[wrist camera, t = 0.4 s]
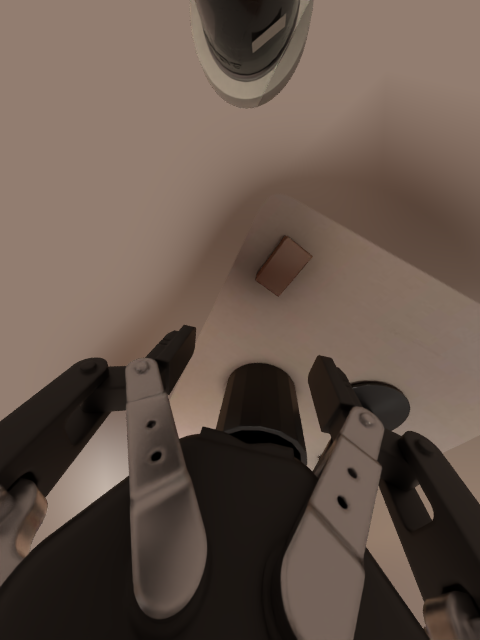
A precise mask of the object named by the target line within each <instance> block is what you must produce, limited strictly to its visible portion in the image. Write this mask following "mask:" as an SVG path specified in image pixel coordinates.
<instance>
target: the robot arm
mask: <svg viewBox="0 0 480 640" xmlns="http://www.w3.org/2000/svg"><path fill="white" fill-rule="evenodd" d="M194 1H195V4H196V7H197V10H198V13H199V16H200V20H201V23H202V28H203V32H204V36H205V39H206V42H207V45H208V48H209V51H210V53H211V55H212V57H213V59H214V61H215V62H216V64H217V65H218V67H219V68H220V69H221V70H222V71H223V72H224V73H225V74H226V75H227V76H229V77H230V78H232V79H234V80H237V81H241V82H250V81H255V80H258V79H260V78H262V77H263V76H265V75H266V74H268V73H269V72H270V71H271V70H272V69H273V68H274V67H275V66H276V65H277V64H278V63H279V61H280V60H281V58H282V57H283V55H284V54H285V52H286V50H287V48H288V46H289V44H290V41H291V39H292V36H293V33H294V30H295V27H296V23H297V18H298V12H299V6H300V0H194ZM195 338H196V328H195V327H191V326H187V325H183V327H182V328H181V329H180V330H179V331H172V332H170V333H168V334H167V335H166V336H165V337H164V338H163V340H161V341H160V342H159V344H157V345H156V347H155V348H154V349H153V350H152V351H151V352H150V353H149V354H148V355H147V356H146V357H145V358H140V359H136V360H134V361H132V362H130V363H129V364H128V365H127V366H117V367H116V366H114V367H108V364H107V361H106V360H104V359H102V358H88V359H84V360H82V361H79V362H77V363H76V364H74V365H73V366H71V367H70V368H69V369H68V370H67V371H65V372H64V373H62V374H61V375H60V376H59V377H57V378H56V379H55V380H53V381H52V382H51V383H50V384H48V385H47V386H46V387H44V388H43V389H42V390H40V391H39V392H38V393H36V394H35V395H34V396H33V397H32V398H30V399H29V400H28V401H26V402H25V403H24V404H22V405H21V406H20V407H18V408H17V409H16V410H14V411H13V412H12V413H11V414H9V415H8V416H7V417H6V418H4V419H3V420H1V421H0V640H480V504H479V503H478V501H477V500H476V499H475V497H474V496H473V495H472V493H471V492H470V491H469V489H468V488H467V486H466V485H465V484H464V482H463V481H462V480H461V478H460V477H459V476H458V474H457V473H456V472H455V470H454V469H453V467H452V466H451V465H450V463H449V462H448V461H447V459H446V458H445V457H444V456H443V454H442V452H441V451H440V450H439V449H438V448H437V447H436V446H435V445H434V444H433V443H432V442H431V441H430V440H428V439H427V438H426V437H424V436H422V435H420V434H418V433H416V432H413V431H407V432H405V433H404V434H403V435H402V436H400V435H398V434H396V433H394V432H392V431H390V430H388V429H386V428H384V427H383V424H382V422H381V421H380V420H379V419H378V417H377V416H375V415H374V414H373V413H372V412H370V411H369V410H367V409H365V408H363V406H362V405H361V403H360V401H359V399H358V397H357V395H356V393H355V392H354V390H353V388H352V386H351V384H350V383H349V380H348V379H347V377H346V375H345V374H344V373H343V372H342V371H341V370H340V369H339V368H338V367H336V365H335V363H334V361H333V359H332V358H329V357H325V356H320V355H319V356H317V358H316V360H315V362H314V364H313V366H312V368H311V370H310V372H309V375H308V384H309V387H310V391H311V395H312V398H313V402H314V406H315V410H316V413H317V417H318V421H319V424H320V428H321V432H324V433H329V434H330V435H331V439H330V440H329V442H328V444H327V446H326V448H325V450H324V451H323V453H322V455H321V457H320V459H319V461H318V463H317V465H316V466H315V468H314V470H313V471H311V470H310V469H309V468H308V467H307V466H306V465H305V464H304V463H302V462H301V461H300V460H298V459H297V458H295V457H294V451H293V448H290V447H286V446H281V445H277V444H273V443H257V444H247V443H244V442H243V441H241V440H239V439H237V438H235V437H233V436H231V435H230V434H228V433H226V432H223V431H219V430H215V429H211V428H207V427H202V430H201V433H200V434H194V435H189V436H186V437H183V438H181V439H179V437H178V433H177V430H176V426H175V422H174V418H173V414H172V410H171V407H170V403H169V399H168V395H169V394H170V393H171V391H172V390H173V388H174V386H175V384H176V383H177V381H178V379H179V378H180V376H181V374H182V372H183V371H184V369H185V367H186V365H187V364H188V362H189V360H190V359H191V357H192V355H193V352H194V349H195ZM123 410H126V418H127V440H128V461H129V476H128V477H126V478H125V479H124V480H122V481H121V482H120V483H118V484H117V485H116V486H114V487H113V488H112V489H110V490H109V491H108V492H106V493H105V494H104V495H102V496H101V497H100V498H99V499H97V500H96V501H94V502H93V503H92V504H91V505H89V506H88V507H87V508H85V509H84V510H83V511H81V512H80V513H79V514H77V515H76V516H75V517H73V518H72V519H71V520H69V521H68V522H67V523H65V524H64V525H63V526H61V527H60V528H59V529H57V530H56V531H55V532H53V533H52V534H51V535H49V536H48V537H47V538H45V539H44V540H43V541H42V542H41V543H39V544H38V545H37V546H36V547H35V548H34V549H33V550H32V551H31V552H30V548H31V544H32V541H33V538H34V536H35V534H36V532H37V531H38V529H39V527H40V525H41V524H42V522H43V520H44V518H45V516H46V513H47V508H48V503H47V500H46V498H45V497H46V496H47V495H48V494H49V492H50V491H51V490H52V488H53V487H54V486H55V484H56V483H57V482H58V481H59V479H60V478H61V477H62V475H63V474H64V473H65V471H66V470H67V469H68V467H69V466H70V465H71V464H72V462H73V461H74V460H75V458H76V457H77V456H78V454H79V453H80V452H81V450H82V449H83V448H84V447H85V445H86V444H87V443H88V441H89V440H90V439H91V437H92V436H93V435H94V434H95V432H96V431H97V430H98V428H99V427H100V426H101V424H102V423H103V422H104V421H105V419H106V418H107V416H108V415H109V414H110V413H111V411H123ZM419 484H420V485H421V488H422V489H423V491H424V493H425V495H426V496H427V498H428V500H429V502H430V504H431V506H432V508H433V512H434V518H433V520H432V519H431V518H430V516H429V514H428V512H427V510H426V508H425V506H424V504H423V502H422V500H421V499H420V497H419V495H418V493H417V491H416V489H415V487H416V486H417V485H419ZM378 485H379V488H380V490H381V493H382V495H383V498H384V500H385V503H386V506H387V508H388V511H389V513H390V516H391V518H392V521H393V523H394V526H395V528H396V531H397V534H398V536H399V539H400V541H401V544H402V546H403V549H404V552H405V554H406V557H407V559H408V562H409V564H410V567H411V569H412V572H413V574H414V577H415V580H416V582H417V585H418V587H419V590H420V592H421V595H422V597H423V600H424V606H423V616H424V621H425V624H426V627H424V629H423V628H422V626H421V625H420V623H419V622H418V621H417V619H416V618H415V616H414V615H413V613H412V612H411V611H410V609H409V608H408V606H407V605H406V604H405V602H404V601H403V599H402V598H401V596H400V595H399V593H398V592H397V591H396V589H395V588H394V587H393V585H392V583H391V582H390V581H389V579H388V578H387V576H386V575H385V574H384V572H383V571H382V569H381V568H380V566H379V565H378V563H377V562H376V560H375V559H374V558H373V556H372V555H371V553H370V552H369V550H368V549H367V548H366V542H367V537H368V532H369V528H370V523H371V518H372V513H373V509H374V504H375V499H376V494H377V490H378Z"/></svg>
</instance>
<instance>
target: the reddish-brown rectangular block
mask: <svg viewBox="0 0 480 640" xmlns="http://www.w3.org/2000/svg"><path fill="white" fill-rule="evenodd" d="M311 258H312V255H310V254H309V253H308V252H307V251H305V250H304V249H303V248H302V247H300V246H299V245H298V244H297V243H295V242H294V241H293V240H292V239H290V238H289V237H287V236H284V238H283V239H282V241H281V242H280V243H279V245H278V246H277V247H276V249H275V250H274V251H273V253H272V254H271V256H270V257H269V258H268V260H267V261H266V262H265V264H264V265H263V266H262V268H261V269H260V271H259V272H258V273H257V275H256V279H255V280H256V281H257V282H259V283H260V284H262V285H263V286H264V287H266V288H267V289H268V290H270V291H271V292H273V293H274V294H275V295H277V296H280V294H281V293H282V292H283V291H284V290H285V288H286V287H287V286H288V285H289V284H290V283H291V281H292V280H293V279H294V278H295V277H296V276H297V274H298V273H299V272H300V271H301V270H302V268H303V267H304V266H305V265H306V264H307V263H308V261H309V260H310V259H311Z"/></svg>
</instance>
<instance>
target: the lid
mask: <svg viewBox="0 0 480 640" xmlns="http://www.w3.org/2000/svg"><path fill="white" fill-rule="evenodd" d="M352 388H353V390H354V392H355V393H356V395H357V397H358V399H359V401H360V403H361V405H362V406H363V408H365V409H367V410H369V411H370V412H372V413H373V414H374V415H375V416H377V417H378V419H379V420H380V421H381V422H382V424H383V427H384V428H386V429H388V430H390V431H392V430H394V429H396V428H397V427H399V426H400V425H401V424H402V423H403V422H404V421H405V420H406V419H407V417H408V415H409V412H410V405H409V401H408V400H407V398H406V397H405V396H404V394H403V393H401V392H400V391H399V390H397V389H395V388H393V387H391V386H388V385H384V384H377V383H365V384H358V385H354V386H352Z"/></svg>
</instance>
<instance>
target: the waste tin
mask: <svg viewBox="0 0 480 640" xmlns="http://www.w3.org/2000/svg"><path fill="white" fill-rule="evenodd" d="M216 430H219V431H223V432H226V433H228V434H230V435H231V436H233V437H235V438H237V439H239V440H241V441H243V442H244V443H247V444H257V443H273V444H277V445H281V446H286V447H290V448H293V451H294V457H295V458H297V459H298V460H300V461H301V462H302V463H304V464H305V465H307V453H306V447H305V441H304V436H303V430H302V425H301V419H300V414H299V408H298V402H297V397H296V391H295V386H294V384H293V381H292V380H291V378H290V377H289V376H288V375H287V374H286V373H285V372H284V371H283V370H281V369H279V368H277V367H275V366H272V365H269V364H263V363H254V364H248V365H244V366H242V367H240V368H238V369H237V370H235V371H234V372H233V373H232V374H231V376H230V377H229V379H228V383H227V387H226V391H225V394H224V398H223V402H222V406H221V410H220V414H219V418H218V422H217V426H216Z"/></svg>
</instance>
